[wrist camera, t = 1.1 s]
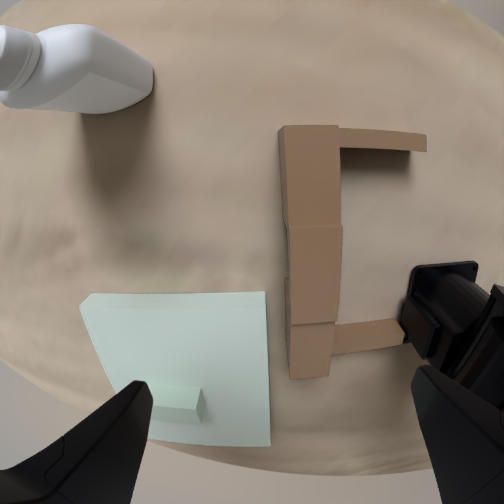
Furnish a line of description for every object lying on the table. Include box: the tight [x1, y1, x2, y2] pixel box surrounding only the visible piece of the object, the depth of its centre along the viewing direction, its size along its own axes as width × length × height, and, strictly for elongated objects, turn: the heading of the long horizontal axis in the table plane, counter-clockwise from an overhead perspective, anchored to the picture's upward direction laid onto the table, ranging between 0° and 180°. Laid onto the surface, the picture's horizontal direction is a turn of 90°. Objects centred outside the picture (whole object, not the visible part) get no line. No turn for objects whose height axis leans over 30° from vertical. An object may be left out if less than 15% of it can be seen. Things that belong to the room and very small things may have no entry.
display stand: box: [79, 291, 271, 447], centre depth 20 cm, size 13×16×4 cm
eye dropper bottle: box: [0, 24, 153, 114], centre depth 8 cm, size 4×6×12 cm
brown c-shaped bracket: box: [278, 125, 427, 380], centre depth 15 cm, size 8×14×4 cm, turn 4°
